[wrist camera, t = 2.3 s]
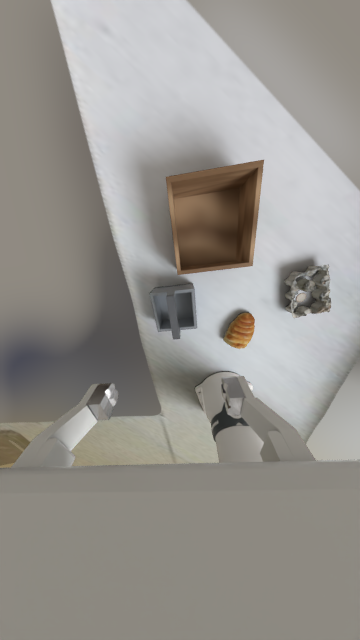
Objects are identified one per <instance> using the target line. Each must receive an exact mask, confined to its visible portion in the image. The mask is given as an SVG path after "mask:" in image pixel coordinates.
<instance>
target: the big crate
mask: <svg viewBox="0 0 360 640" xmlns="http://www.w3.org/2000/svg"><path fill="white" fill-rule="evenodd" d="M263 164H264V160H260V161H254V162H248V163H243V164H237V165H231V166H225V167H220V168H214V169H208V170H203V171H197V172H191V173H186V174H180V175H174V176H169V177H166V183H167V191H168V199H169V207H170V216H171V224H172V232H173V240H174V249H175V257H176V265H177V273H178V275H181V274H189V273H198V272H206V271H214V270H223V269H231V268H239V267H247V266H253V256H254V247H255V238H256V229H257V219H258V210H259V201H260V192H261V182H262V173H263Z"/></svg>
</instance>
